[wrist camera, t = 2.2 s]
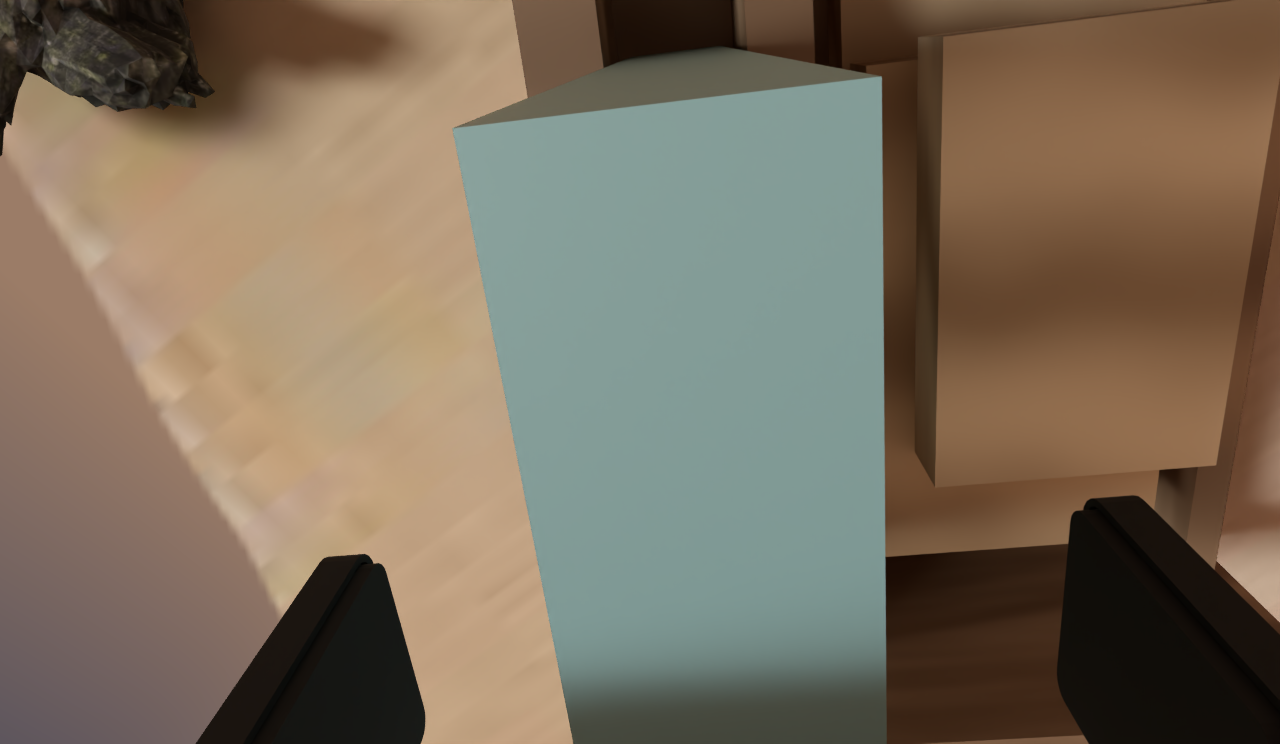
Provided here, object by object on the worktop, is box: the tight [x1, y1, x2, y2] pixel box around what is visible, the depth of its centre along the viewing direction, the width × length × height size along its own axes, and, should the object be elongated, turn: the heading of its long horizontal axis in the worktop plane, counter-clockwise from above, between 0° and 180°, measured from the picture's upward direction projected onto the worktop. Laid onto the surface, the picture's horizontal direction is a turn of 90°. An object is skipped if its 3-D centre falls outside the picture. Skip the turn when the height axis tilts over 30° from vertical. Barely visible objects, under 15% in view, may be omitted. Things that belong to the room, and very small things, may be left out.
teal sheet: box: [452, 46, 887, 744], centre depth 17 cm, size 14×2×20 cm, turn 7°
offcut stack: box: [827, 0, 1280, 557], centre depth 22 cm, size 16×9×6 cm, turn 7°
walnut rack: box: [512, 0, 1280, 744], centre depth 22 cm, size 24×20×10 cm
